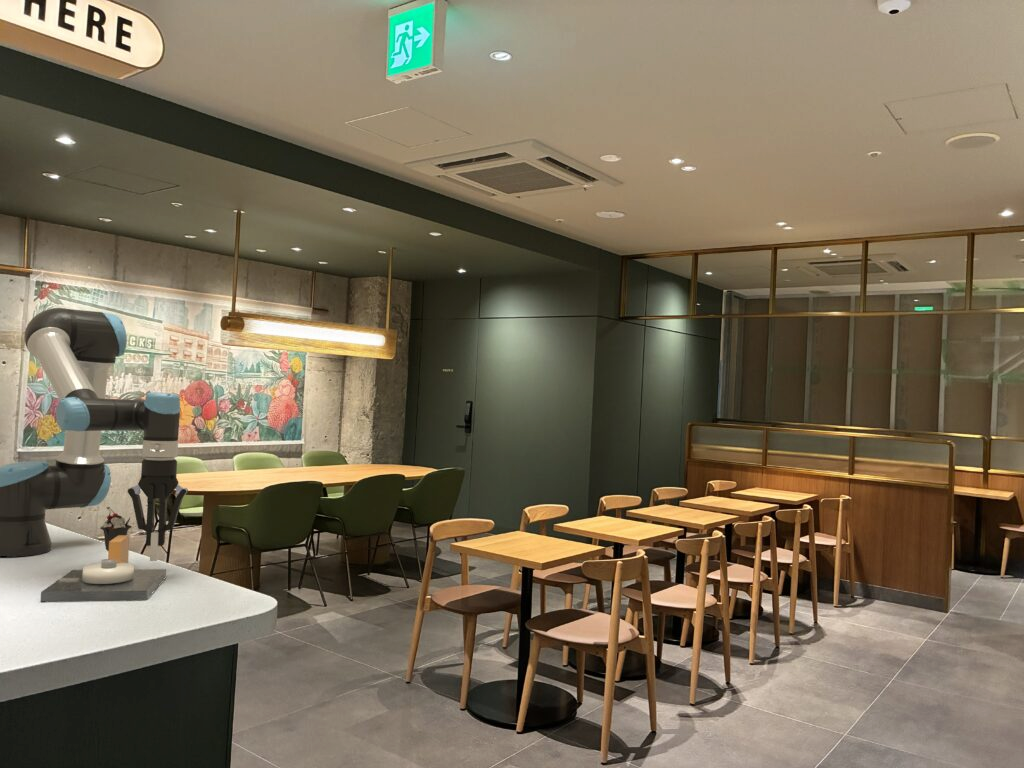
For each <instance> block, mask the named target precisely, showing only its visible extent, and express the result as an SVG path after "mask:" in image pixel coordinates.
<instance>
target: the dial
mask: <svg viewBox="0 0 1024 768" xmlns="http://www.w3.org/2000/svg"><path fill="white" fill-rule="evenodd" d="M130 538H131V535H130V534H129V535H128V534H127V535H118V536H117V537H115V538H114V539H112V540H111V541H109V552H108V551H107V552H108V554H107V555H108V557H107V558H105V559H101V562H98V563H92V564H88V565H85V566H84V567H83V568H82V570H83V575H82V581H83V582H85V583H91V584H111V583H119V582H125V581H128V580H131V579H133V577H134V570H135V565H134V564H133V563H130V562H129V554H130V553H129V552H130V551H129V550H130Z"/></svg>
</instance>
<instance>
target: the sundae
mask: <svg viewBox="0 0 1024 768" xmlns="http://www.w3.org/2000/svg"><path fill="white" fill-rule="evenodd" d="M106 509H107V510H108V511H109V512H112V513H113V514H112V515H111V513H109V514H108V515H107V516H106V519H107V520H105V521H104V523H103V525H102V526H101V527H100V530H102V531H103V535H104V546H105V550H106V551H107V552H109V541H111V540H112V539H114V538H115V537H117V536H118V535H128V531H129V529H132V525H129V522H130V520H131V517H129V518H128V519H127V521H126V520H125V518H124V517H123V516H122V515H119V514H118V513H116V512H114V511H113V509H111V507H110V506H107V507H106Z"/></svg>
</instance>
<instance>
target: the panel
mask: <svg viewBox="0 0 1024 768" xmlns="http://www.w3.org/2000/svg"><path fill="white" fill-rule="evenodd" d="M82 575H83V569H71V570H70V571H69V572H68V573H66V574H65V575H64V576H62V577H61V578H59V579H58V580H56V581H55V582H53V583H52V584H50V585H48V586H47V587H46V588H45V589H43V590H42V591H40V601H48V603H50V602H51V603H53V602H54V603H59V602H60V601H62V602H63V601H64V602H104V601H105V602H107V601H108V602H109V601H110V602H111V601H114V602H115V601H118V602H120V601H121V602H122V601H123V602H124V600H125V601H147V600H148V599H149V598H150V597H151V596H150V595H153V593H154V592H155V591H156V590H157V589H158V588H157V587H160V585H161V584H162V583H163V582H164V581H165V579H166V578H167V569H165V568H164V569H163V568H162V569H160V568H159V569H157V568H155V569H154V568H153V569H150V568H149V569H146V568H145V569H142V568H141V569H137V568H136V569H134V577H133V579H131V580H128V581H125V582H119V583H111V584H91V583H85V582H83V581H82ZM165 577H166V578H165ZM164 578H165V579H164ZM163 580H164V581H163ZM162 581H163V582H162ZM161 582H162V583H161ZM160 583H161V584H160ZM159 584H160V585H159ZM156 588H157V589H156ZM155 589H156V590H155ZM154 590H155V591H154ZM153 591H154V592H153ZM152 592H153V593H152ZM149 596H150V597H149ZM148 597H149V598H148ZM58 601H59V602H58ZM60 603H61V602H60Z"/></svg>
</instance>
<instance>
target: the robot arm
mask: <svg viewBox="0 0 1024 768" xmlns="http://www.w3.org/2000/svg"><path fill="white" fill-rule="evenodd" d="M23 337H24V343H25V346H26V349H27V350H28V352H29V355H31V356H32V357H33V358H35V359H37V360H38V361H39V364H40V365H41V367H42V370H43V371H44V374H45V375H46V377H47V379H48V380H49V383H50V385H51V387H52V389H53V391H54V393H55V394H56V396H57V398H58V403H57V404H56V408H55V418H56V426H58V428H60V429H61V430H62V431H63V430H64V431H65V433H64V443H63V451H62V453H59V455H58V456H57V457H56V458H55V465H50V464H49V462H48V461H47V460H27V461H19V462H12V463H7V464H4V465H1V466H0V556H7V557H6V558H17V557H18V556H19V557H27V556H28V557H29V556H35V555H42V554H44V553H48V552H50V551H51V550H52V541H51V540H52V539H51V537H50V534H49V530H48V527H47V524H46V510H58V509H73V508H80V509H81V508H86V507H94V506H97V505H100V504H101V503H103V501H105V499H106V497H107V495H108V493H109V491H110V487H111V482H112V476H111V473H112V472H111V469H110V468H109V466H108V464H105V459H104V458H103V456H102V455H101V454H100V444H101V438H102V437H101V436H102V432H103V431H104V432H105V431H109V432H110V431H111V432H113V431H115V432H117V431H118V432H122V431H123V432H126V431H128V432H129V431H130V432H132V431H133V432H135V431H137V432H139V431H140V432H143V435H142V436H143V437H142V452H141V453H142V457H143V458H144V459H142V461H141V471H140V472H141V473H140V479H139V480H138V481H137V482H138V484H136V485H134V486H133V487H130V488H128V489H127V493H128V495H129V496H130V498H131V501H132V506H133V510H134V515H135V519H136V520H135V521H136V525H137V529H139V530H142V531H145V534H146V535H145V545H146V546H147V547H149V548H150V550H149V552H150V553H149V562H157V561H158V560H160V548H161V546H164V545H165V543H166V531H169V530H172V529H173V528H174V527H175V524H176V521H177V517H178V514H179V511H180V508H181V504H182V502H183V498H184V497H185V496H186V495H187V493H188V491H189V490H188V488H187V487H183V486H181V485H180V484H179V481H178V479H177V475H178V473H177V471H178V470H177V469H178V460H177V459H176V458H177V457H178V453H179V452H178V451H179V434H180V432H179V431H180V430H179V429H180V415H181V398H180V397H181V396H180V395H179V394H178V393H176V392H175V393H174V392H170V393H169V392H147V393H146V395H145V399H143V398H140V399H139V398H133V399H128V398H127V399H126V398H122V399H121V398H117V399H116V398H106V393H107V384H108V375H109V374H108V373H109V369H110V368H111V367H112V366H114V365H115V364H116V359H117V358H119V357H121V356H123V355H124V354H125V350H126V348H127V341H128V340H127V332H126V328H125V324H124V323H123V321H122V319H121V318H120V317H119V316H117V315H116V314H114V313H107V312H104V311H94V310H83V309H82V310H81V309H73V308H72V309H71V308H65V307H54V308H48V309H45V310H43V311H40V312H39V313H37V314H36V315H34V316H33V317H32V318H31V320H30V321H29V322H28V324H27V325H26V327H25V330H24V335H23ZM141 491H142V492H143V494H144V495H145V496H146V497H147V499H146V502H147V508H146V509H147V511H146V519H145V514H144V509H143V504H142V500H141V496H140V494H141ZM174 491H175V495H176V497H175V498H174V503H173V505H172V509H171V512H170V515H169V518H168V521H167V514H168V513H167V512H168V501H169V497H170V496H171V494H172V493H173V492H174ZM157 499H158V501H159V507H158V508H159V509H158V528H157V529H158V530H155V517H156V516H155V515H156V502H157ZM10 556H11V557H10Z"/></svg>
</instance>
